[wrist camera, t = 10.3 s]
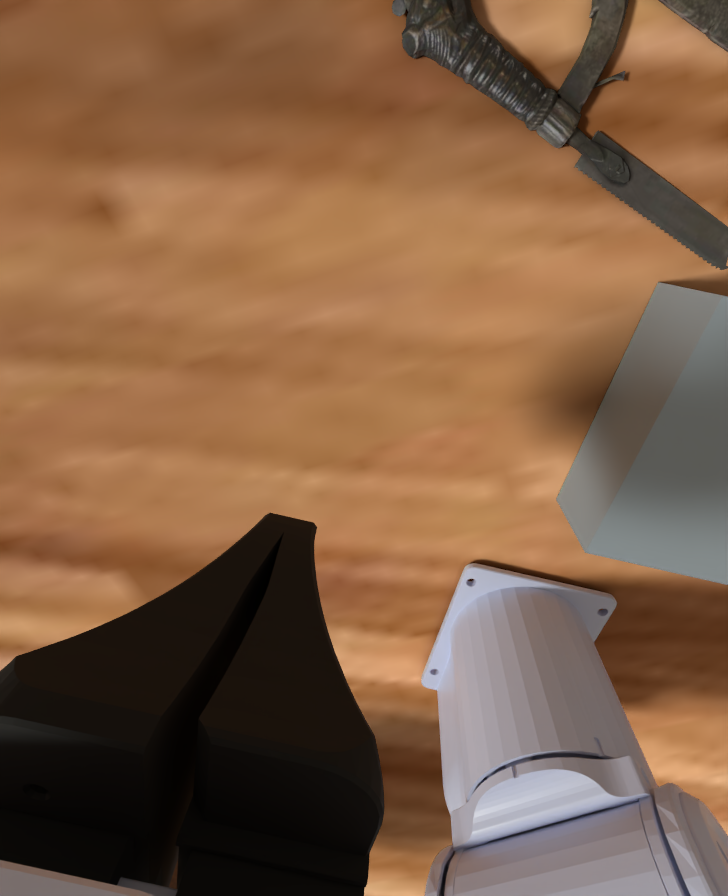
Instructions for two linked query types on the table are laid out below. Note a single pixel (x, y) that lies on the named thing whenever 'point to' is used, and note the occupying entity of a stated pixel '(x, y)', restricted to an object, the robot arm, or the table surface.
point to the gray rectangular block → (661, 445)
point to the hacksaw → (572, 101)
